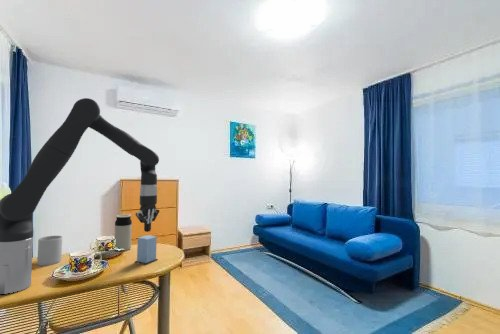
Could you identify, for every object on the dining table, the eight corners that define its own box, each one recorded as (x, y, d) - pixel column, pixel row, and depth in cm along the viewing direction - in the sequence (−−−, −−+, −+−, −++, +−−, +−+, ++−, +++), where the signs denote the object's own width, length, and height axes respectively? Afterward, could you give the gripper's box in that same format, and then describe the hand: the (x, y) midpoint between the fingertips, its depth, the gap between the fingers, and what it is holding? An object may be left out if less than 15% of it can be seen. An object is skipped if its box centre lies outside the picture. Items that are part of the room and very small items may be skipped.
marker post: (146, 264, 111) (146, 248, 111) (134, 262, 114) (135, 246, 114) (157, 259, 118) (158, 244, 118) (146, 257, 120) (147, 242, 120)
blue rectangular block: (146, 263, 112) (147, 239, 112) (137, 261, 114) (137, 238, 115) (156, 259, 117) (156, 236, 118) (146, 257, 120) (147, 235, 120)
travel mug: (134, 247, 135) (135, 214, 136) (122, 252, 127) (123, 217, 128) (122, 246, 137) (123, 213, 138) (110, 250, 130) (111, 216, 130)
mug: (59, 264, 110) (60, 239, 110) (34, 267, 106) (35, 241, 106) (64, 255, 120) (65, 233, 121) (42, 258, 116) (43, 234, 117)
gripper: (152, 192, 124) (151, 227, 124) (131, 194, 112) (129, 233, 111) (164, 193, 121) (163, 229, 121) (143, 195, 109) (142, 235, 109)
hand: (147, 231), depth 116 cm, fingers closed
